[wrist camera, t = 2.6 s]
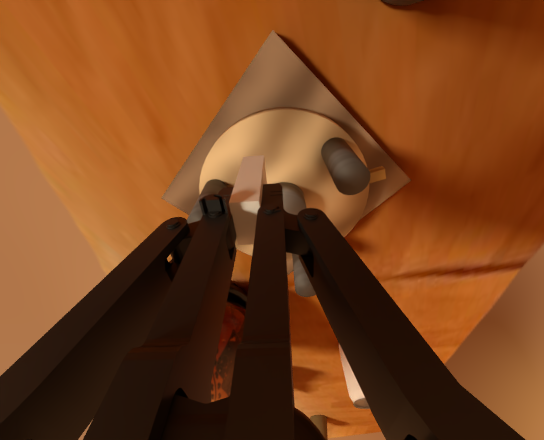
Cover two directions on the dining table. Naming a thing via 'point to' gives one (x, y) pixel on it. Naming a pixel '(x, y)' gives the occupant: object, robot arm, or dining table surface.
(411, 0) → the beer stein
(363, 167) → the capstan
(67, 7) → the dining table surface
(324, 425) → the brown tapered piece
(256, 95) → the stand
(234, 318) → the amphora vase
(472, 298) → the dining table surface
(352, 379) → the can
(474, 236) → the dining table surface
